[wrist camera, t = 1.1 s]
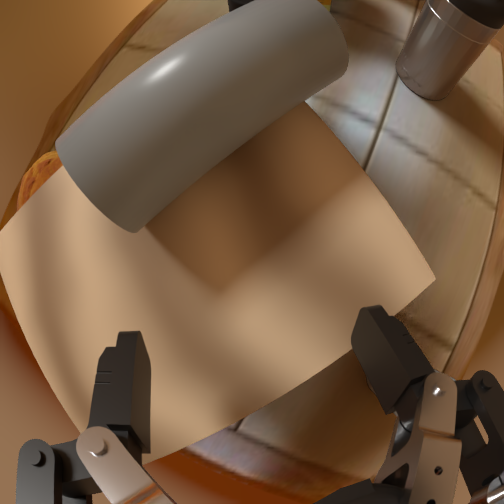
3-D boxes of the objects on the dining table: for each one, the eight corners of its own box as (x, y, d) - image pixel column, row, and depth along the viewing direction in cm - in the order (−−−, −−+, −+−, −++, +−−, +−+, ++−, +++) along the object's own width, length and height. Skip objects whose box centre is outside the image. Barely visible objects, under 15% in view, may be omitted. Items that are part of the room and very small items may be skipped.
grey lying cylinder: (104, 168, 15) (270, 46, 15) (154, 243, 14) (339, 99, 14) (42, 120, 10) (263, -26, 10) (87, 212, 9) (357, 22, 9)
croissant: (43, 265, 38) (6, 269, 30) (38, 164, 37) (4, 154, 29) (120, 254, 36) (85, 257, 28) (113, 138, 36) (81, 119, 28)
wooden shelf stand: (258, 161, 35) (244, 42, 15) (346, 283, 32) (436, 278, 13) (114, 263, 34) (-9, 242, 15) (190, 385, 32) (113, 475, 13)
